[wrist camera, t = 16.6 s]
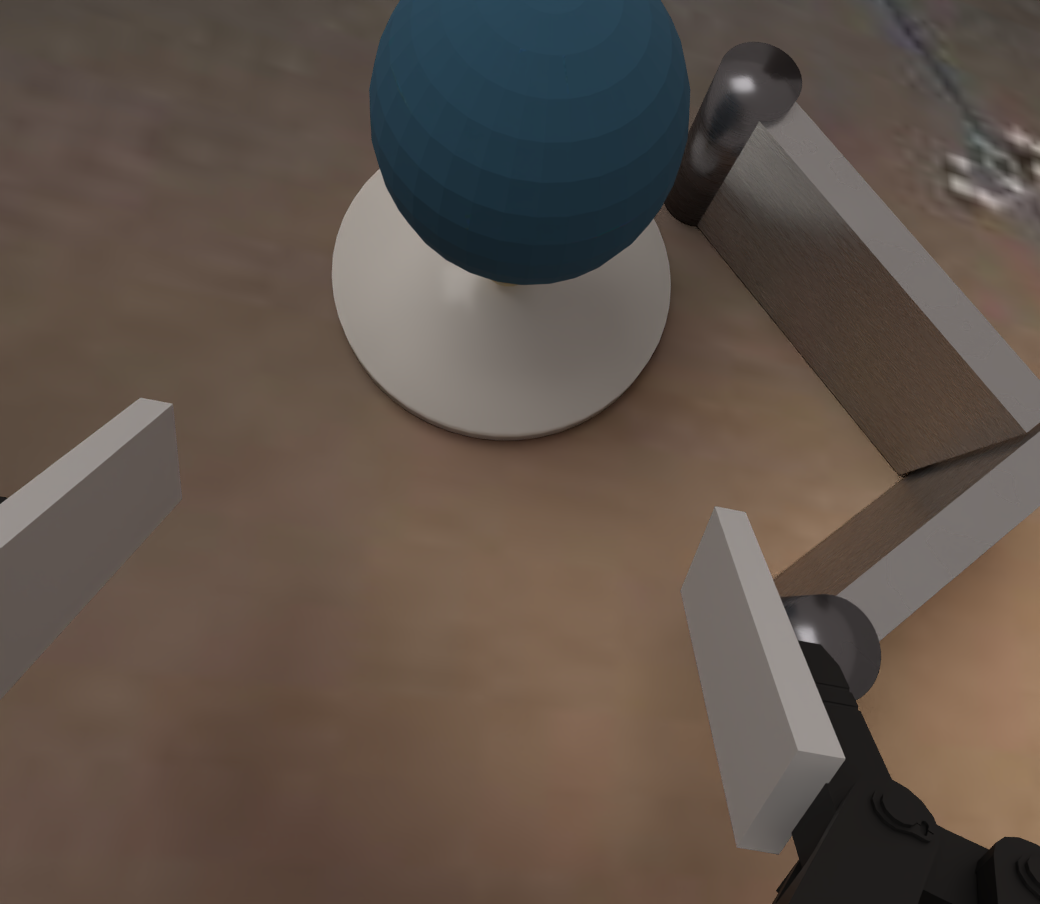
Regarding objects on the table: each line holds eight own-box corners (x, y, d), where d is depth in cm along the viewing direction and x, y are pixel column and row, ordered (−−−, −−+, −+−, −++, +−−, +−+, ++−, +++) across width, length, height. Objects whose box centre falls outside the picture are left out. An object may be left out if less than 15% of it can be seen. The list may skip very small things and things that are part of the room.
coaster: (273, 236, 26) (266, 221, 25) (542, 95, 28) (545, 77, 28) (456, 507, 24) (456, 502, 23) (727, 329, 26) (737, 318, 25)
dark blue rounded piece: (636, 356, 25) (795, 130, 13) (414, 390, 24) (376, 175, 12) (588, 165, 27) (691, -181, 15) (380, 188, 25) (318, -168, 14)
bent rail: (447, 304, 26) (441, 205, 20) (700, 157, 28) (765, 29, 22) (727, 698, 23) (825, 728, 17) (978, 494, 26) (1143, 454, 19)
